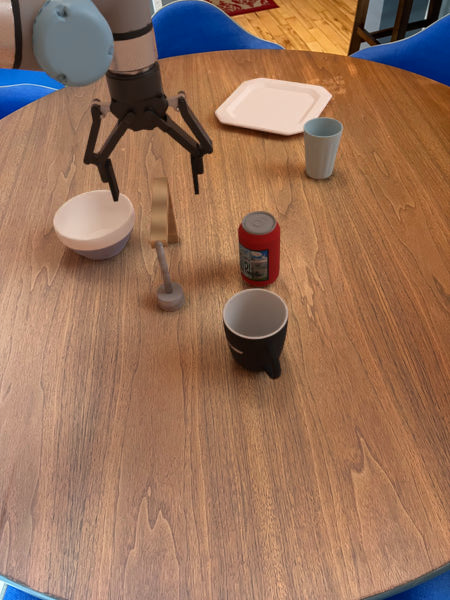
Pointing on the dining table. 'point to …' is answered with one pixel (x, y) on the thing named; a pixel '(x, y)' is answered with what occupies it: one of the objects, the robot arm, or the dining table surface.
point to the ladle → (164, 243)
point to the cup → (321, 146)
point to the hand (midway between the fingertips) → (156, 193)
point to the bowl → (95, 224)
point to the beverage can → (259, 248)
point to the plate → (273, 105)
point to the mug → (256, 330)
